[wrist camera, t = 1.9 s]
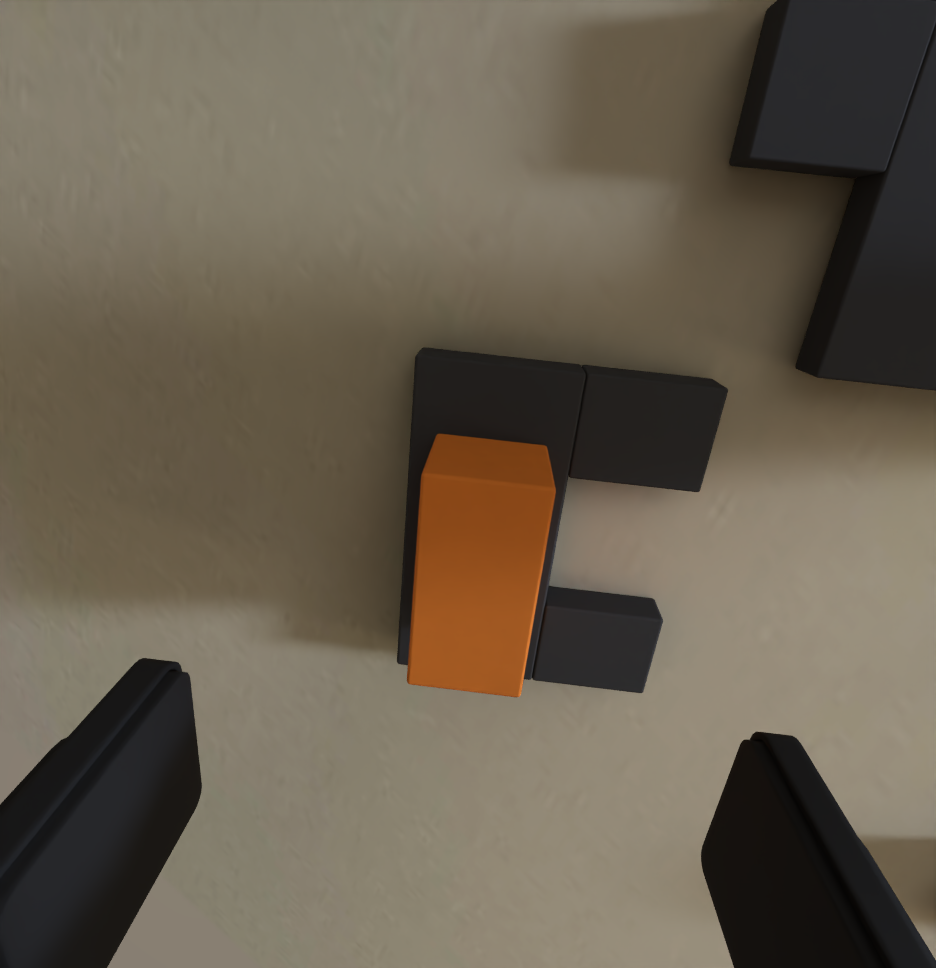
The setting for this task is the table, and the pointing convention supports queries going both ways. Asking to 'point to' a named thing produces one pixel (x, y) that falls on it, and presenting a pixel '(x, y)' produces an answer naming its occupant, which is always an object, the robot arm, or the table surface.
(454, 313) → the table surface
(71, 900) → the robot arm
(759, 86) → the charcoal pad
